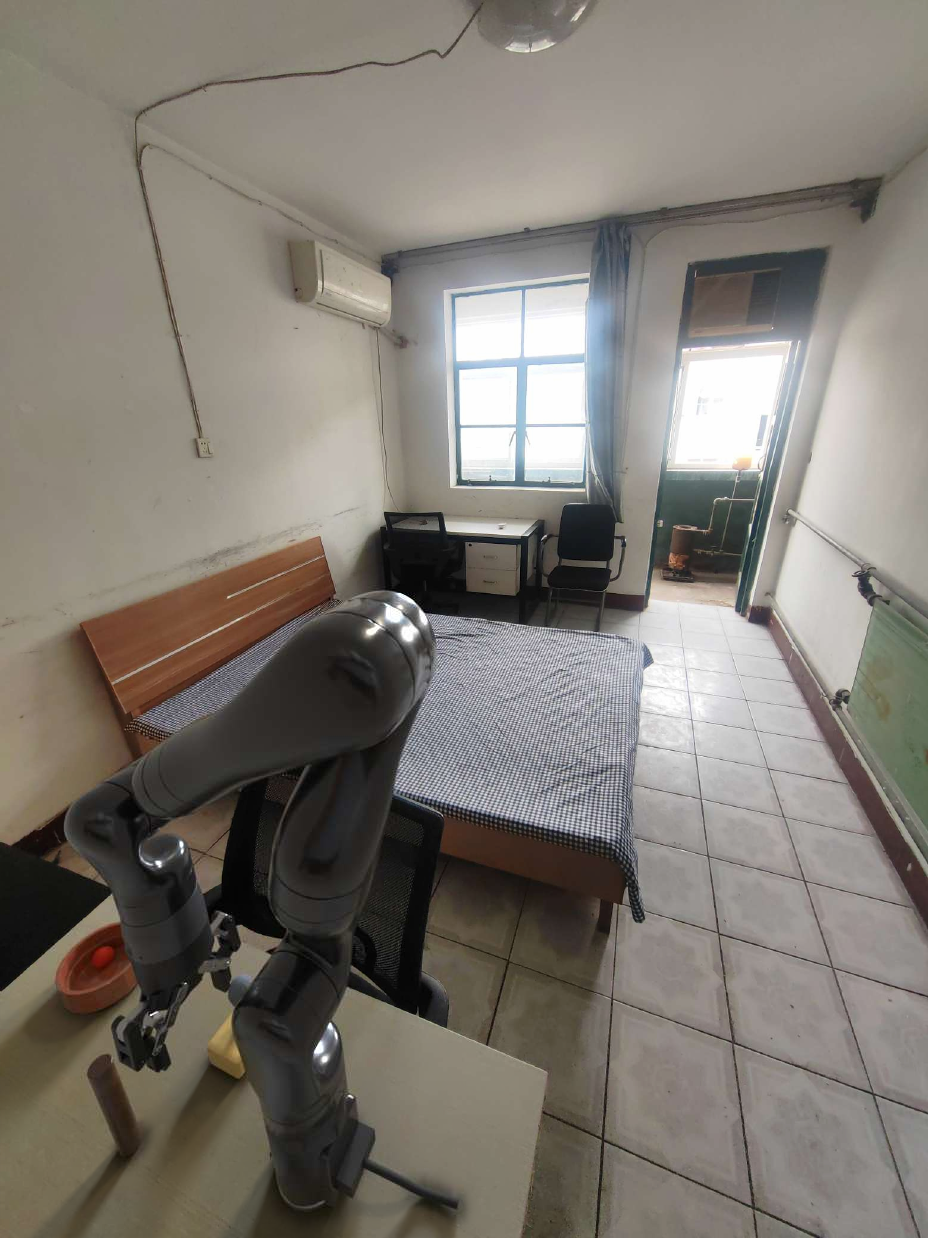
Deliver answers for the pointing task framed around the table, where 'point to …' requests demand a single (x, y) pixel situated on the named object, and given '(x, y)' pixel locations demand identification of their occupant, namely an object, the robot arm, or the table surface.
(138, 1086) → the table surface
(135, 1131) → the stick
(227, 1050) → the rubber stamp
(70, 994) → the bowl
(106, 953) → the ball
